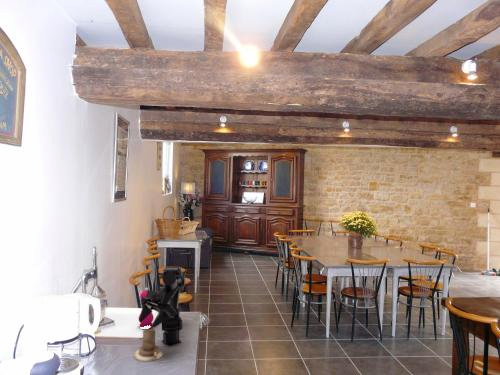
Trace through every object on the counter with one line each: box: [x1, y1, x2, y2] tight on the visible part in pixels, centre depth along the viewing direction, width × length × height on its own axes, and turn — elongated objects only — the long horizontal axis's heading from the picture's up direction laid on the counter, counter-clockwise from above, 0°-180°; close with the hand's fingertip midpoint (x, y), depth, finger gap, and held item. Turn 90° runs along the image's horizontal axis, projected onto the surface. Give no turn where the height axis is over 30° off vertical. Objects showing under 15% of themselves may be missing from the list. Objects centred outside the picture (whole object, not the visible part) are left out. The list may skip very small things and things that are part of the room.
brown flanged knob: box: [138, 328, 160, 357], centre depth 173 cm, size 8×8×9 cm
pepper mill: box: [138, 287, 154, 329], centre depth 205 cm, size 7×7×20 cm
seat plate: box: [133, 347, 164, 362], centre depth 173 cm, size 12×12×3 cm
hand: (146, 324), depth 172 cm, fingers open, 9 cm apart
